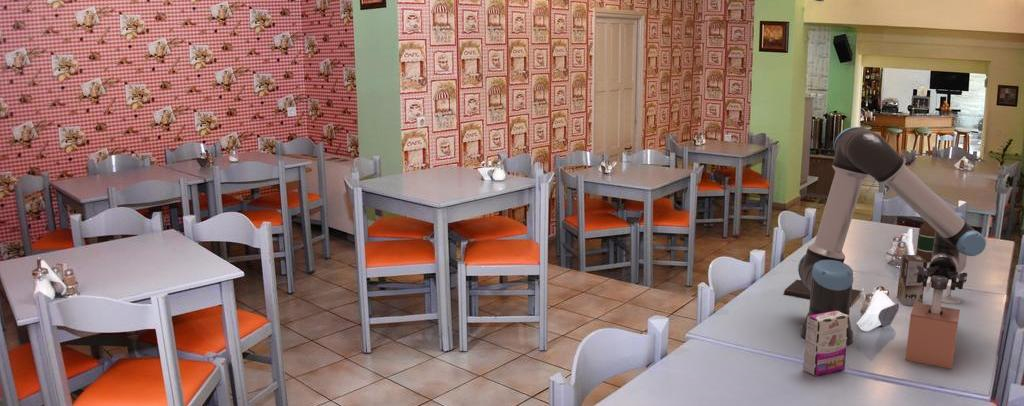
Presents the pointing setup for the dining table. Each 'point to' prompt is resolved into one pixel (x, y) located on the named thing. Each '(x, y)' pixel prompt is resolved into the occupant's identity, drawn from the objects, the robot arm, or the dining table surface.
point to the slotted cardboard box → (932, 335)
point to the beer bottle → (925, 241)
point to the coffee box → (910, 280)
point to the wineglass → (960, 268)
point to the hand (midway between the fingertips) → (937, 288)
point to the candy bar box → (825, 343)
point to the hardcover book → (803, 292)
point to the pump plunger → (938, 292)
